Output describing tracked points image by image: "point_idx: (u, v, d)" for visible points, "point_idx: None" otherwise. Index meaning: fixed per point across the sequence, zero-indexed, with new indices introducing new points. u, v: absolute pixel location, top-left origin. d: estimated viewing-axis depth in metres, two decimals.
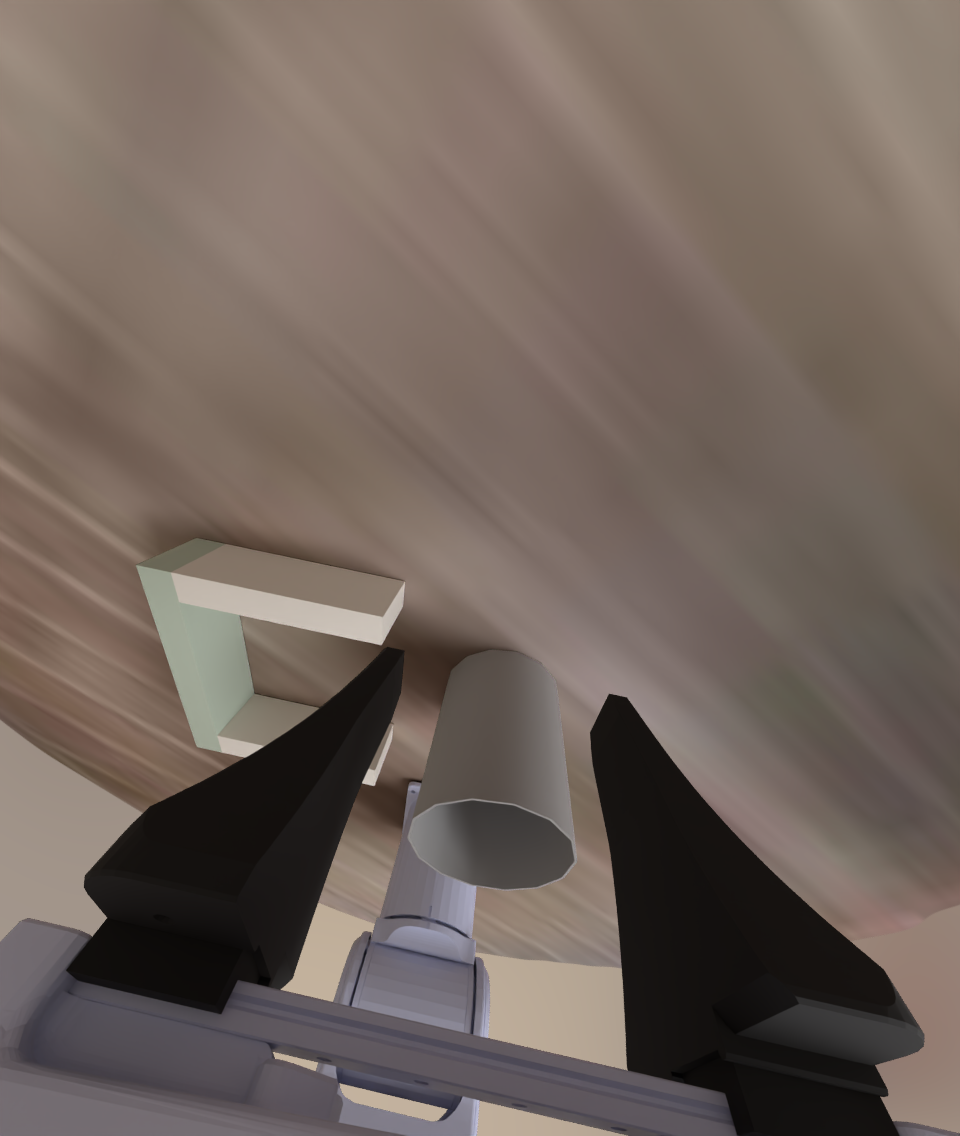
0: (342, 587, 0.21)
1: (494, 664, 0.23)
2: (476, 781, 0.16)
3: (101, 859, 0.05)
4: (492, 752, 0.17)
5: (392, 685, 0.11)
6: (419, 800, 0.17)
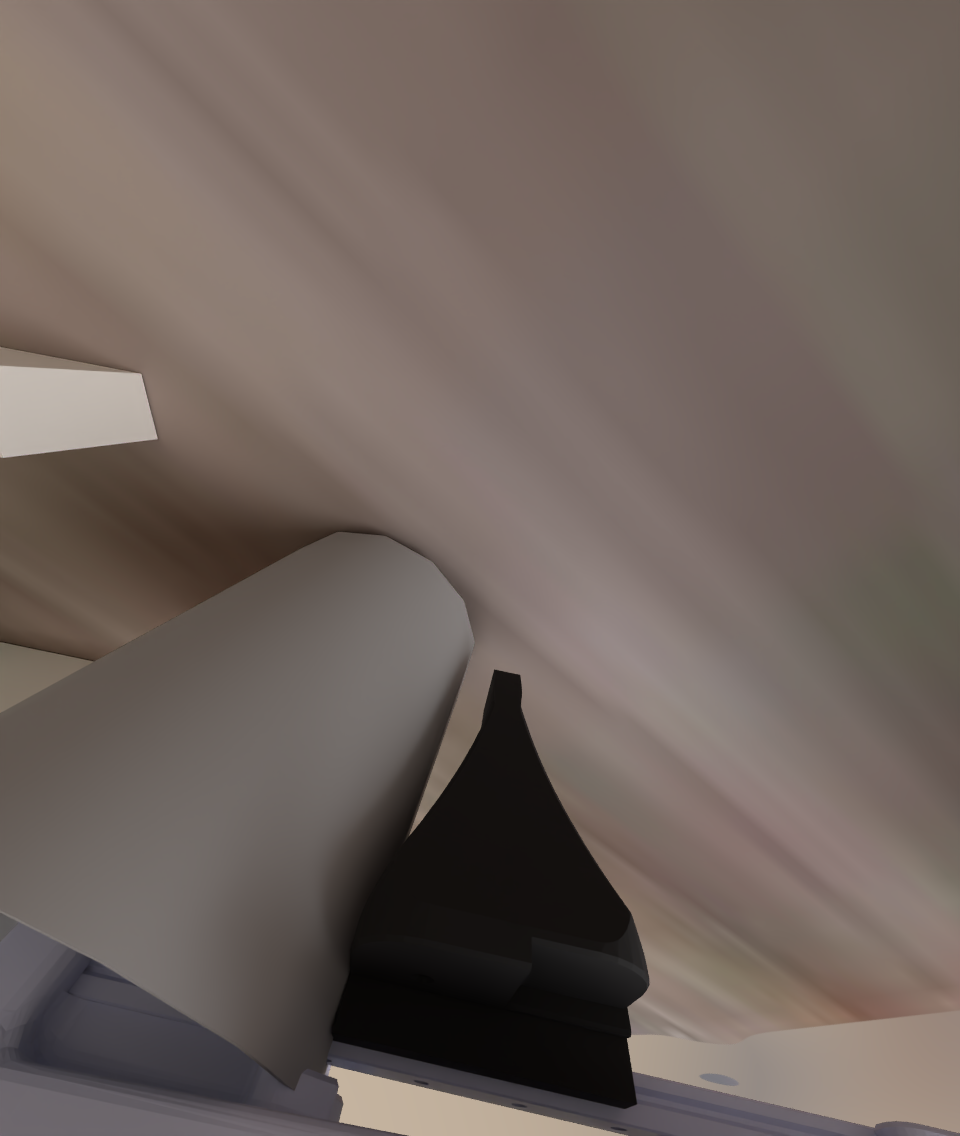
0: None
1: (322, 547, 0.11)
2: None
3: (373, 920, 0.05)
4: (107, 687, 0.06)
5: None
6: None
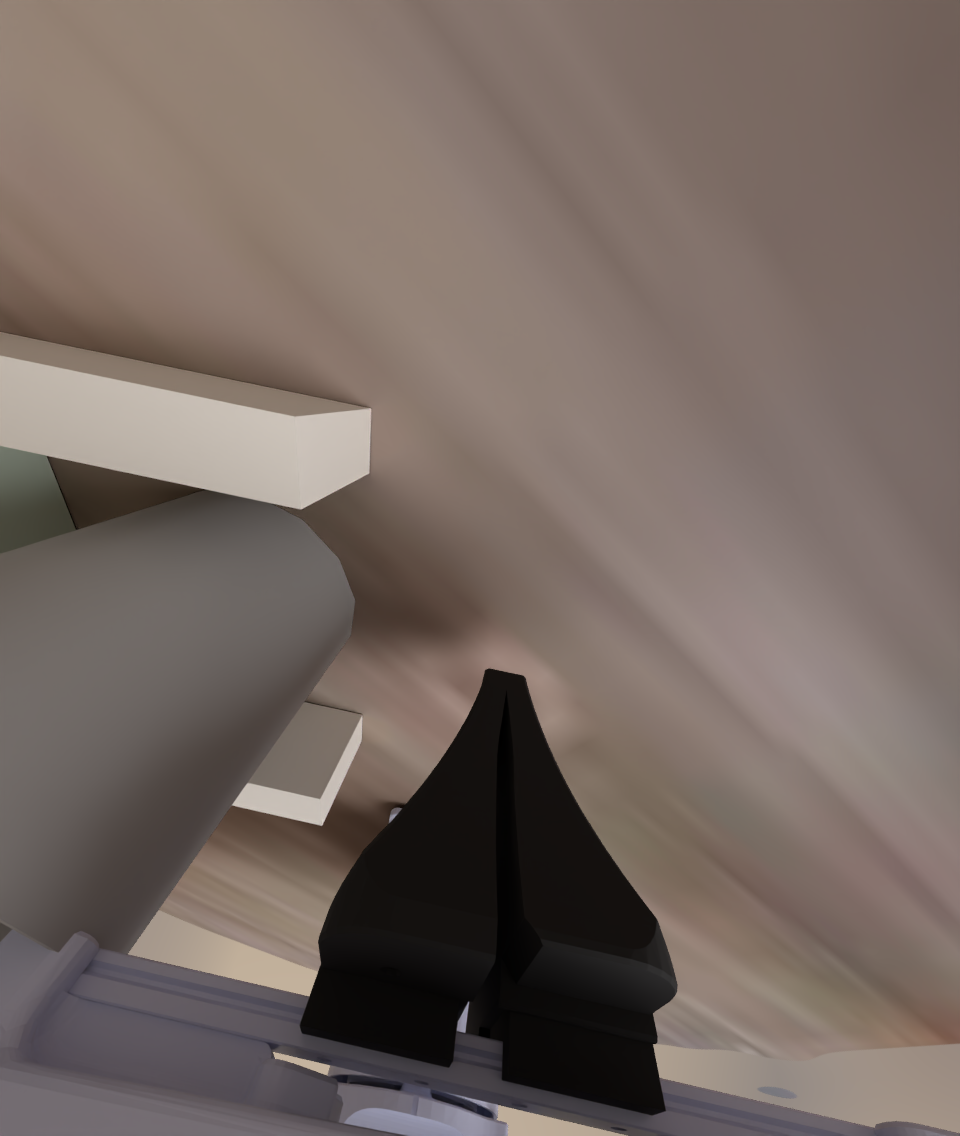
0: (217, 386, 0.09)
1: (177, 502, 0.11)
2: None
3: (340, 913, 0.05)
4: None
5: None
6: None
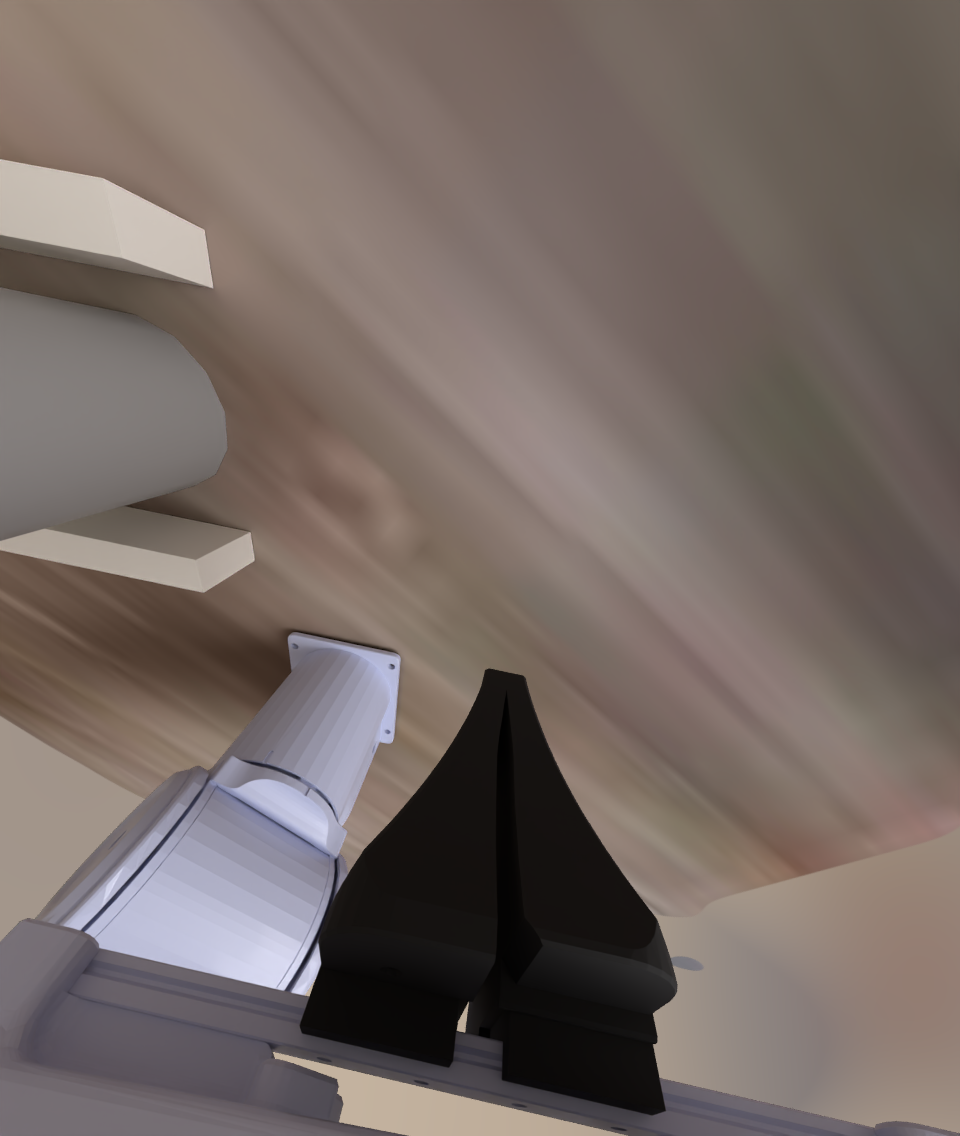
0: None
1: None
2: None
3: (340, 913, 0.05)
4: None
5: None
6: None
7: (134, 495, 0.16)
